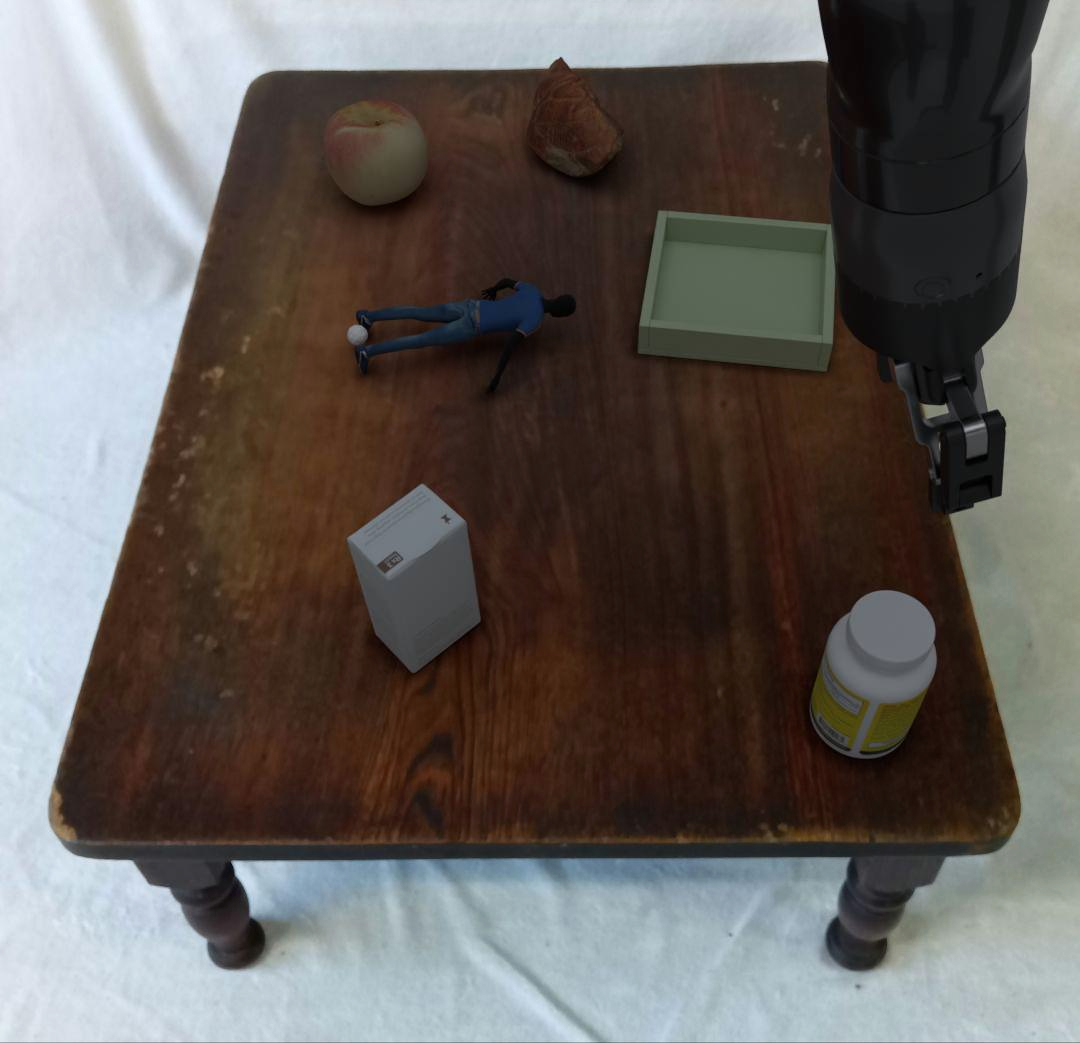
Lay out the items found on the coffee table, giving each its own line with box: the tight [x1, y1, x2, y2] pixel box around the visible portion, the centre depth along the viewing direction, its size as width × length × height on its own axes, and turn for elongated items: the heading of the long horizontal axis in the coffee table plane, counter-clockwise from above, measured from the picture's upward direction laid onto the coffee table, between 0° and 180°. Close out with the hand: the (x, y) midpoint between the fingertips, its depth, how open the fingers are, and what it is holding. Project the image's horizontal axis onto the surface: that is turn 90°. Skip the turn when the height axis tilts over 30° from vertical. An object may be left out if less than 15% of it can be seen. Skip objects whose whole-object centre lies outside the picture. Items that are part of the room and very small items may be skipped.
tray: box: [637, 209, 836, 373], centre depth 95 cm, size 15×14×3 cm
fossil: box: [525, 56, 626, 178], centre depth 106 cm, size 13×8×10 cm
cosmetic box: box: [346, 483, 482, 674], centre depth 74 cm, size 6×4×12 cm
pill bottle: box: [809, 589, 938, 760], centre depth 70 cm, size 6×6×11 cm
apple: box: [322, 99, 429, 207], centre depth 103 cm, size 9×9×8 cm
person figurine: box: [346, 277, 577, 396], centre depth 93 cm, size 11×4×18 cm
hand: (924, 436), depth 63 cm, fingers open, 8 cm apart
